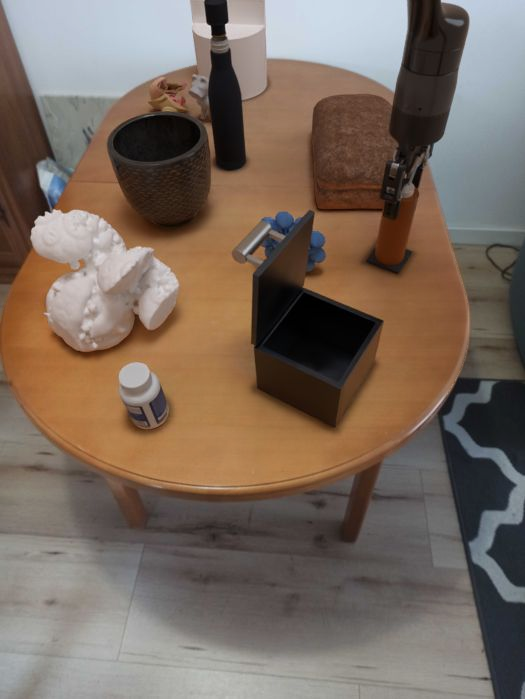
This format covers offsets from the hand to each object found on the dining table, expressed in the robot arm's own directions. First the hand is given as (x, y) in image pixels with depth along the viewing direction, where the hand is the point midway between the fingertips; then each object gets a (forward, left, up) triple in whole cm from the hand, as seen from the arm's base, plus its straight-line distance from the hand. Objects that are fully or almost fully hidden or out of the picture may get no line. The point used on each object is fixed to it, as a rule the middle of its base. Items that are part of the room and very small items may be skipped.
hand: (400, 202), depth 79 cm
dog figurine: (+55, -25, -12) cm, 62 cm away
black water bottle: (+41, -11, -12) cm, 44 cm away
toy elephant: (+66, -21, -12) cm, 70 cm away
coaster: (0, 0, -12) cm, 12 cm away
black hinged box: (-1, +28, -12) cm, 31 cm away
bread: (+17, -21, -12) cm, 30 cm away
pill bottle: (+16, +46, -12) cm, 50 cm away
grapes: (+13, +12, -12) cm, 21 cm away
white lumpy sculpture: (+32, +34, -12) cm, 48 cm away
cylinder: (+60, -40, -12) cm, 73 cm away
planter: (+41, +9, -12) cm, 44 cm away
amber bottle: (0, 0, -11) cm, 11 cm away
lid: (+4, +28, +5) cm, 29 cm away
